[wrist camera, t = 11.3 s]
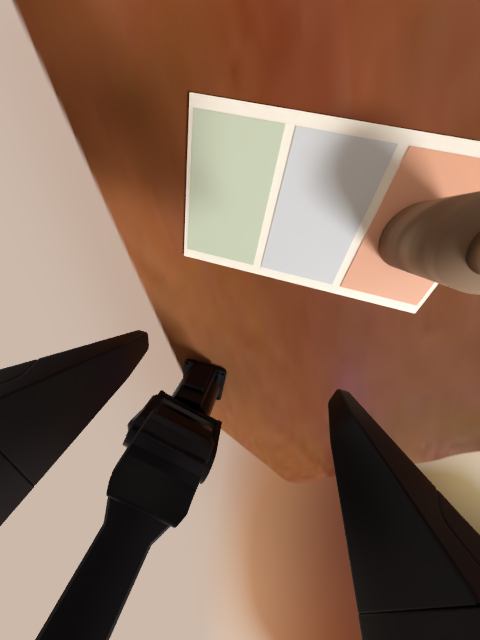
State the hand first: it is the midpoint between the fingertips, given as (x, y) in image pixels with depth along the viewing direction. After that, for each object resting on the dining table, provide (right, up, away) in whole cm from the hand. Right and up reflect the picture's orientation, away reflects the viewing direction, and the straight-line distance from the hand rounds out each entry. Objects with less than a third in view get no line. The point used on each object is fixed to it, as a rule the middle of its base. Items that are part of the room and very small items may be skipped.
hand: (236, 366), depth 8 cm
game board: (+7, +11, +7) cm, 15 cm away
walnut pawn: (+14, +9, +6) cm, 18 cm away
